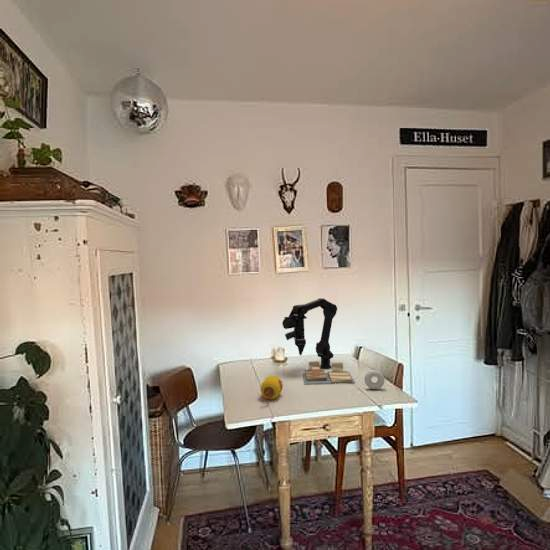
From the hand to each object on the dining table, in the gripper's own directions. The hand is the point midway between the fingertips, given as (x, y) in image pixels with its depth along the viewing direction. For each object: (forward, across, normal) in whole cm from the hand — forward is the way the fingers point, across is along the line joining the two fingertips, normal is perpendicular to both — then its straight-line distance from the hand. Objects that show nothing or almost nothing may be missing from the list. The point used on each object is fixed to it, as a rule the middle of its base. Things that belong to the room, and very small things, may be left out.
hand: (300, 353), depth 243 cm
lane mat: (+12, +12, +14) cm, 22 cm away
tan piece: (+12, +13, +21) cm, 27 cm away
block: (+10, +12, +8) cm, 17 cm away
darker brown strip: (+12, +8, +8) cm, 17 cm away
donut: (+12, +33, +36) cm, 50 cm away
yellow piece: (+12, +40, -16) cm, 45 cm away
